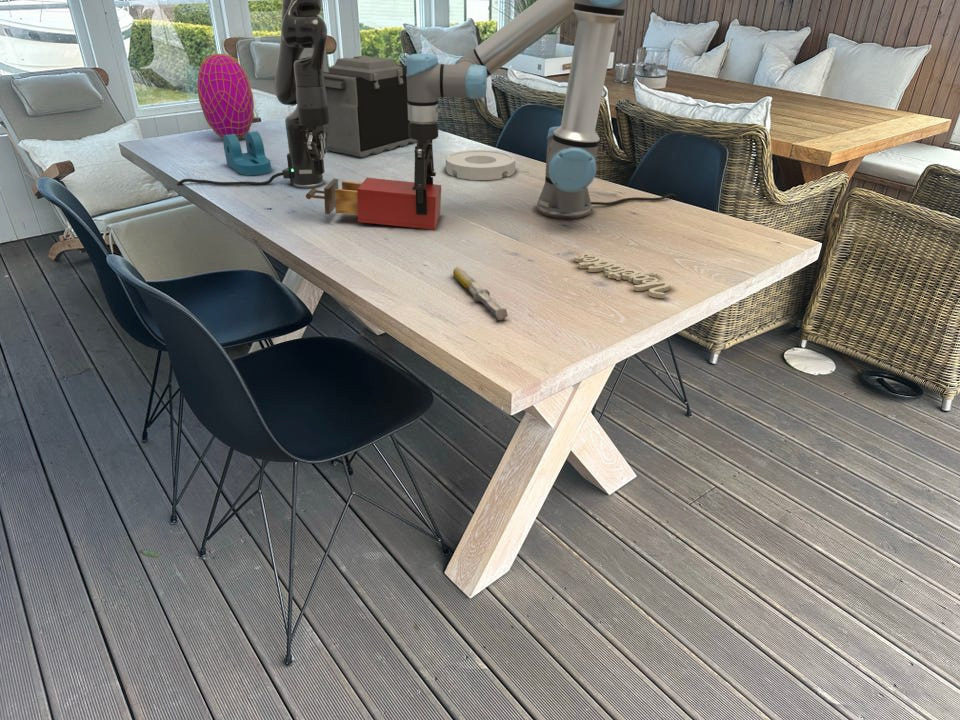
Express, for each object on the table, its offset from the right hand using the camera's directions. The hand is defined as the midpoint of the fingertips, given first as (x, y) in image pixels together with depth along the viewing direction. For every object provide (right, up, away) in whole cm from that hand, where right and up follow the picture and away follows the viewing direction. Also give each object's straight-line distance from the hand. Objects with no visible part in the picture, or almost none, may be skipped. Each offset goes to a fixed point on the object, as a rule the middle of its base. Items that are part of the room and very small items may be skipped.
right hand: (425, 207), depth 183 cm
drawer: (-19, -1, +2) cm, 19 cm away
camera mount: (-62, +23, +46) cm, 81 cm away
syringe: (+14, -27, -38) cm, 49 cm away
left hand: (-28, +8, -2) cm, 29 cm away
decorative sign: (+47, -22, -27) cm, 59 cm away
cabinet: (-7, -3, +2) cm, 8 cm away
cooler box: (-26, +40, +75) cm, 89 cm away
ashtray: (+15, +23, +47) cm, 54 cm away
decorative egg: (-81, +45, +83) cm, 124 cm away
